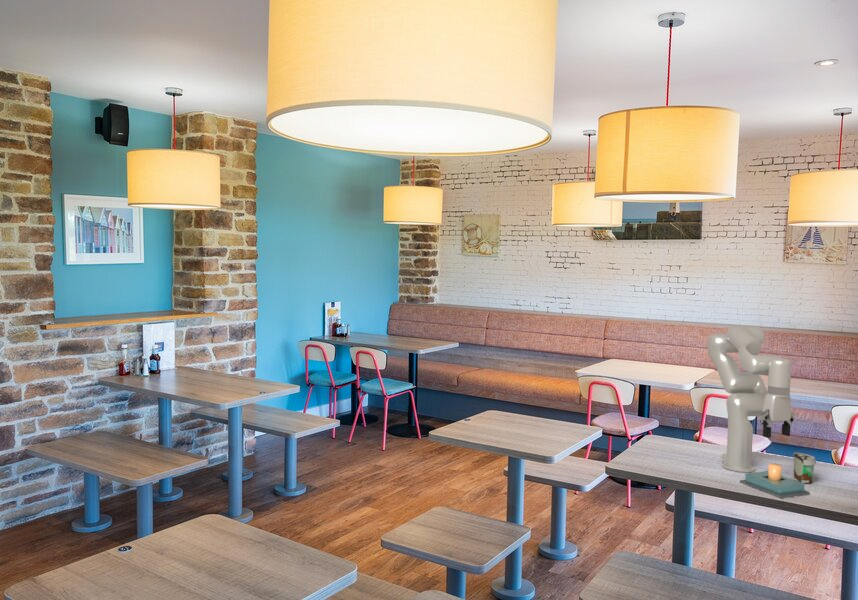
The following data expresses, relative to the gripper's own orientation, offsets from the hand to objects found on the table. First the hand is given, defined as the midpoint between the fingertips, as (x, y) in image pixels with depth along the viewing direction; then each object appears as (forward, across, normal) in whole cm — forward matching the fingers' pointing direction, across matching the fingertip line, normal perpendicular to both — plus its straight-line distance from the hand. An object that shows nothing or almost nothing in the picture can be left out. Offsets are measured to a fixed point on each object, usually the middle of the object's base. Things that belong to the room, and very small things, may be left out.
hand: (776, 436), depth 254 cm
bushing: (+19, 0, 0) cm, 19 cm away
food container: (+20, -20, -3) cm, 29 cm away
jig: (+20, 0, 0) cm, 20 cm away
